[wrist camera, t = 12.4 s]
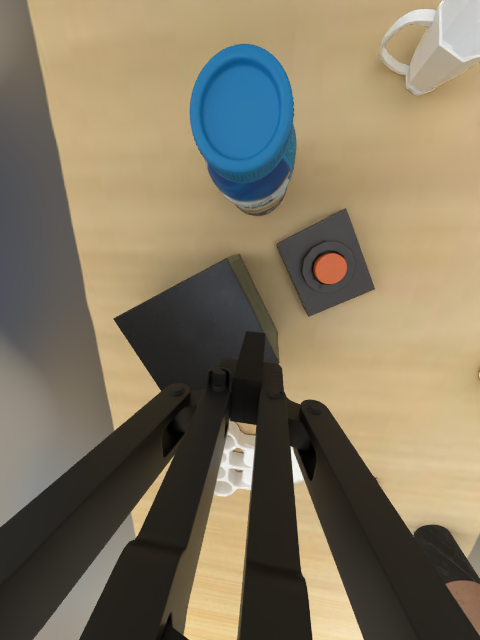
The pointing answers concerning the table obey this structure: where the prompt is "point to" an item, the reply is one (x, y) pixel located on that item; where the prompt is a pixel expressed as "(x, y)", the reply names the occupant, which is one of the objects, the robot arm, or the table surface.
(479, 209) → the table surface
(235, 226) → the table surface
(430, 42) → the cup
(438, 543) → the travel mug
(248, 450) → the white holed block
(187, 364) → the box lid
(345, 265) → the button
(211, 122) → the beverage bottle
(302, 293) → the control pad
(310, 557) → the table surface
